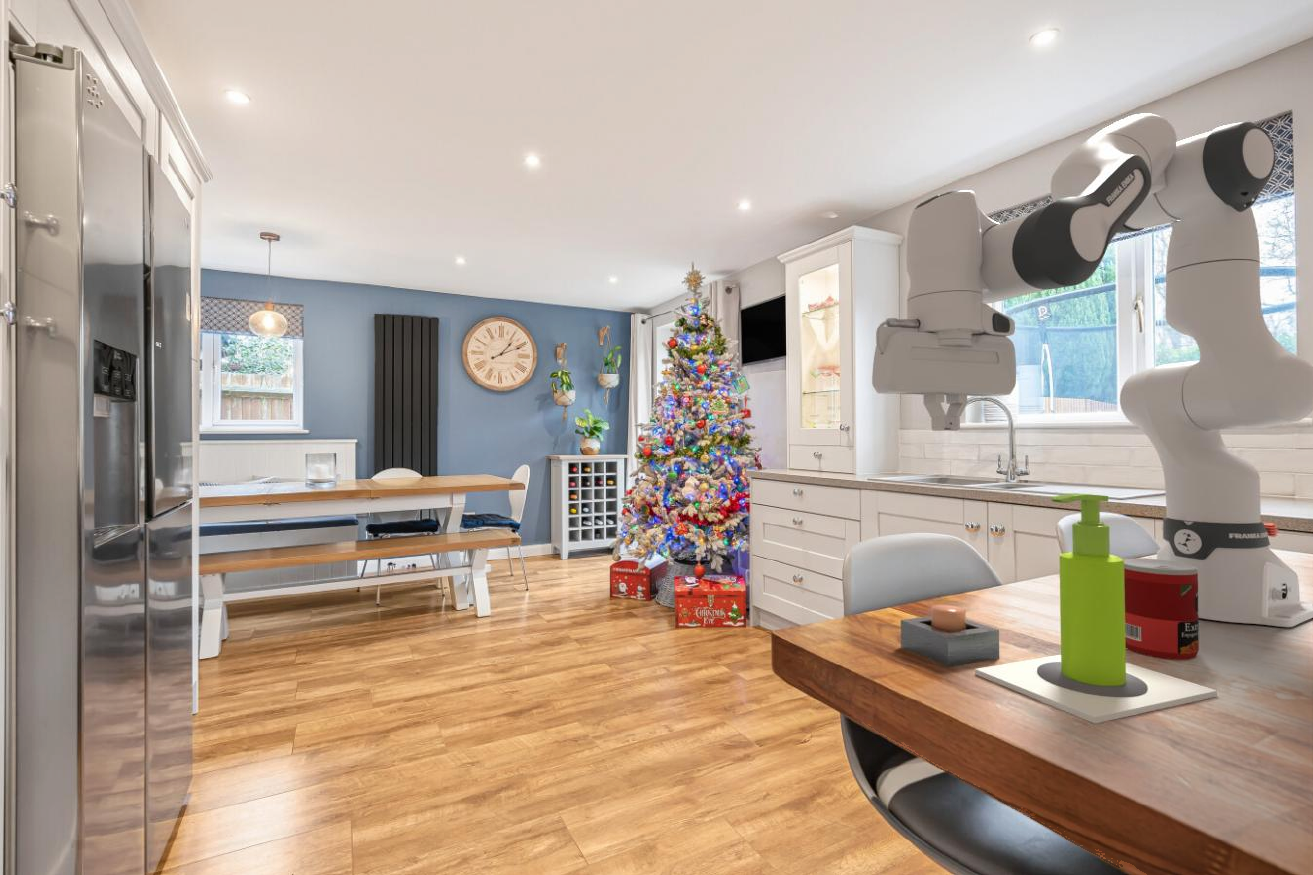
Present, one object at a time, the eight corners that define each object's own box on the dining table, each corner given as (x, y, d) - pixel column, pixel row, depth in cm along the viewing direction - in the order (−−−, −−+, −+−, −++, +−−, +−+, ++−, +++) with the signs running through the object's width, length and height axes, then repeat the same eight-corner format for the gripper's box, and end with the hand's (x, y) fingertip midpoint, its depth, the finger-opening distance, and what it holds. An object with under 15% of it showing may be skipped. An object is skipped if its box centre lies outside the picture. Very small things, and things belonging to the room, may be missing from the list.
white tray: (1086, 654, 80) (1086, 648, 80) (1217, 696, 67) (1217, 688, 67) (975, 674, 74) (975, 667, 74) (1094, 723, 61) (1094, 715, 61)
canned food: (1197, 665, 76) (1196, 572, 76) (1115, 651, 82) (1113, 564, 82) (1201, 649, 82) (1199, 562, 82) (1123, 637, 87) (1122, 555, 87)
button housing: (949, 639, 87) (948, 613, 87) (999, 658, 79) (998, 629, 79) (901, 646, 84) (900, 619, 84) (948, 666, 76) (947, 637, 76)
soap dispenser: (1040, 668, 73) (1037, 492, 73) (1097, 666, 74) (1095, 491, 74) (1078, 687, 67) (1075, 496, 68) (1140, 685, 68) (1136, 495, 68)
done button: (948, 626, 84) (948, 603, 84) (973, 635, 80) (973, 611, 80) (924, 630, 83) (923, 606, 83) (948, 638, 79) (947, 614, 79)
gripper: (895, 311, 75) (896, 430, 75) (1025, 322, 82) (1026, 430, 82) (860, 321, 81) (861, 431, 81) (984, 330, 88) (985, 431, 88)
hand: (945, 430), depth 82 cm, fingers closed
